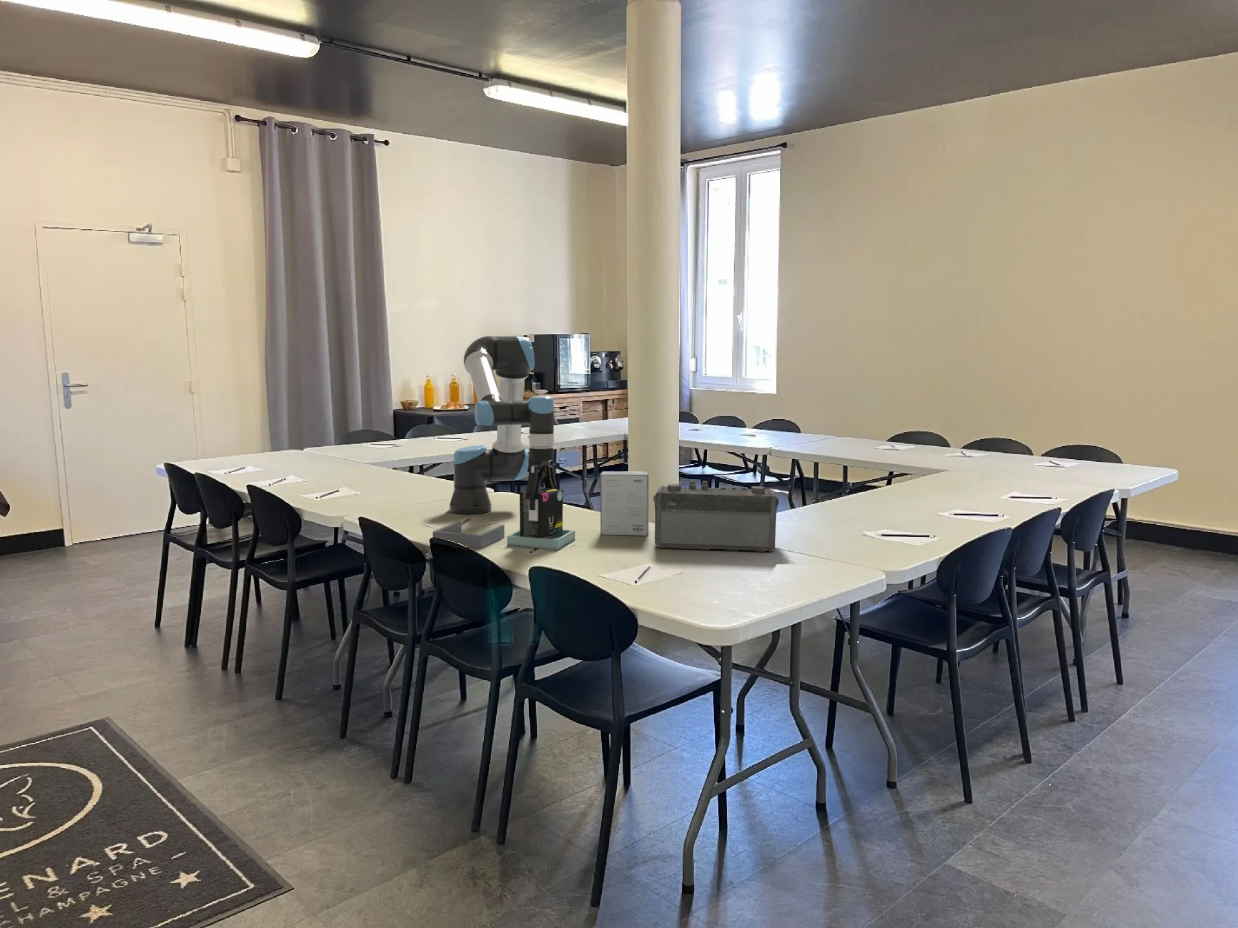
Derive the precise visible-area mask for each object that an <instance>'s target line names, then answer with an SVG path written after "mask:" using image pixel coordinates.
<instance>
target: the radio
mask: <svg viewBox="0 0 1238 928" xmlns="http://www.w3.org/2000/svg"><path fill="white" fill-rule="evenodd" d="M652 499H653V502H654V513H655V514H654V515H655V516H654V544H655V546H656V548H658V549H685V550H688V549H690V550H710V549H727V550H726V551H738V550H756V551H755V552H765V551H771V552H773V551H774V550H775V547H776V536H777V534H776V529H777V514H778V513H777V511H778V506H779V504H780V501H779V498H778V497H777V496H776V493H775V491H774V489H773V488H772V489H771V488H768V489H765V486H757V485H755V486H751V488H747V487H741V488H737V487H735V486H733V487H731V488H728V487H727V488H726V486H721V487H709V483H708V481H707V480H702V482H701V487H698V486H697V487H696V481H695V480H690V481H689V485H688V487H687V486H682V485H681V484H679V483H669V484H667V486H665V485H660V486H659V487H658V489H657V490H656V493H654V495H653V498H652ZM731 549H732V550H731Z"/></svg>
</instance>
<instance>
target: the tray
mask: <svg viewBox="0 0 1238 928" xmlns="http://www.w3.org/2000/svg"><path fill="white" fill-rule="evenodd" d="M506 540H507V541H506V545H507V546H508V547H520V548H529V547H535V548H534V549H542V550H551V551H554V550H555V551H559V550H560V549H562V548H564V547H566V546H567V545H569V544H570V543H572V542H573V541H575V540H576V530H573V529H563V535H562V536H559V537H555V538H552V539H544V538H533V537H521V536H520V529H519V530H516V531H515V532H513V533H510V534H508V535H507V536H506Z"/></svg>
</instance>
